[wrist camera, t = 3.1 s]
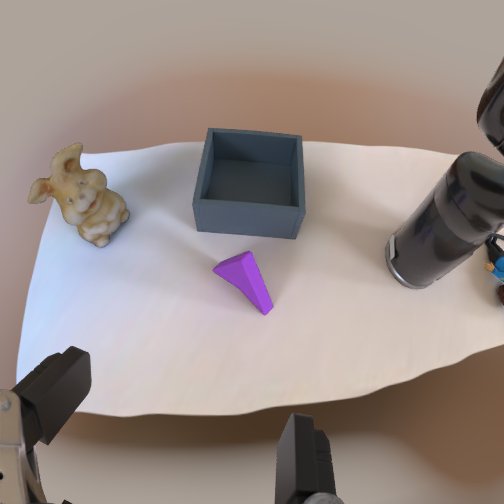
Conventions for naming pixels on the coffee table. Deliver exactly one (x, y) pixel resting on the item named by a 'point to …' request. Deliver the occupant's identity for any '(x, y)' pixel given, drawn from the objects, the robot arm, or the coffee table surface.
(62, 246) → the coffee table surface
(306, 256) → the coffee table surface
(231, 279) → the arrowhead
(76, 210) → the figurine
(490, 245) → the toy
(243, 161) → the bin
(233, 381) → the coffee table surface
